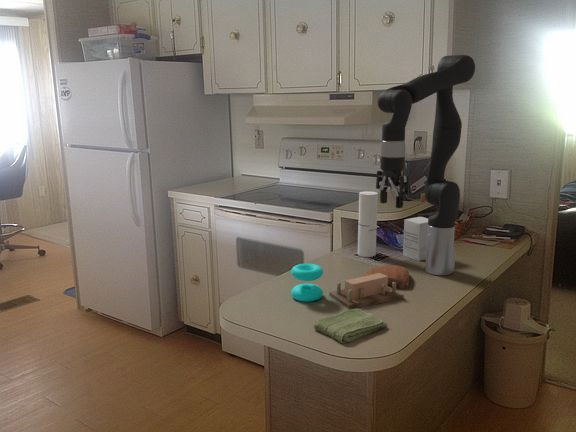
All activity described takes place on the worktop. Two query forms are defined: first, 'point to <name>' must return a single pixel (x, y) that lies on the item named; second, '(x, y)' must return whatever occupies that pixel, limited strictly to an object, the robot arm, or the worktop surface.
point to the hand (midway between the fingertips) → (391, 205)
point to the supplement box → (415, 238)
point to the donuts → (307, 290)
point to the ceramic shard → (392, 274)
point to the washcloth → (349, 325)
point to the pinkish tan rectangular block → (366, 285)
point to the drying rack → (368, 300)
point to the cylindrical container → (367, 223)
